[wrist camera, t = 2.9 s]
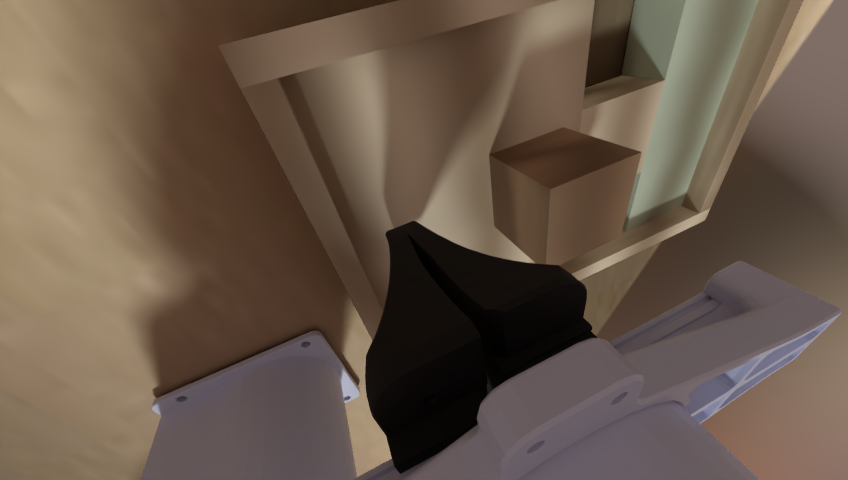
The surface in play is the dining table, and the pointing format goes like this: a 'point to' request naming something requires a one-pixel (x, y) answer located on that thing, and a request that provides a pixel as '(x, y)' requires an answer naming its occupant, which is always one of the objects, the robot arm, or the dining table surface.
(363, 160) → the box
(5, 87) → the dining table surface
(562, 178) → the walnut block
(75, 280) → the dining table surface
